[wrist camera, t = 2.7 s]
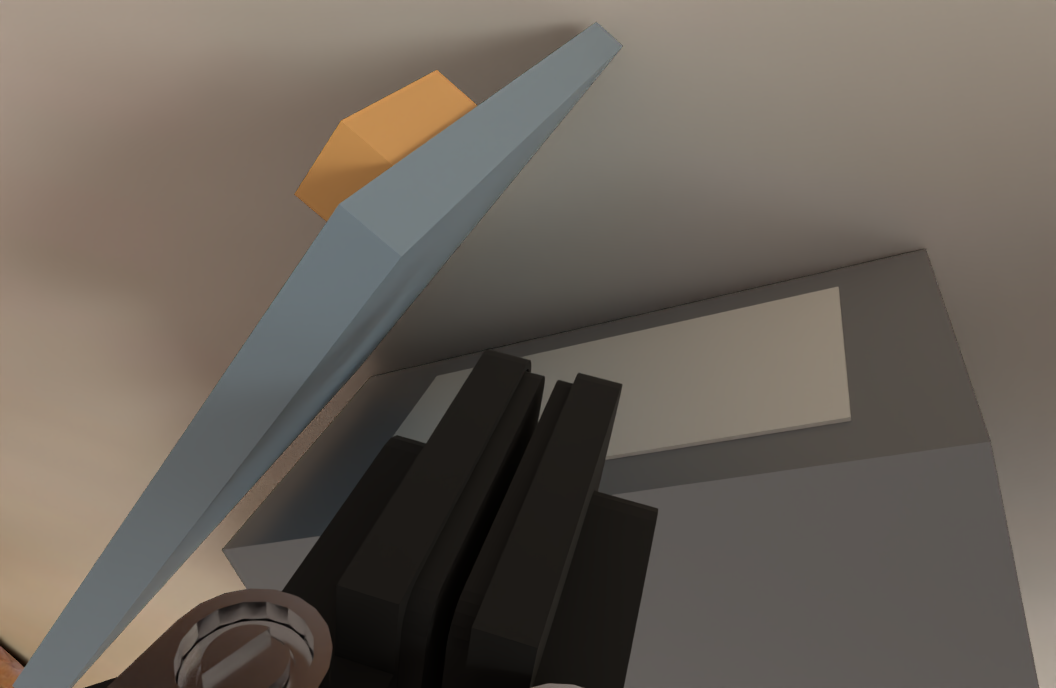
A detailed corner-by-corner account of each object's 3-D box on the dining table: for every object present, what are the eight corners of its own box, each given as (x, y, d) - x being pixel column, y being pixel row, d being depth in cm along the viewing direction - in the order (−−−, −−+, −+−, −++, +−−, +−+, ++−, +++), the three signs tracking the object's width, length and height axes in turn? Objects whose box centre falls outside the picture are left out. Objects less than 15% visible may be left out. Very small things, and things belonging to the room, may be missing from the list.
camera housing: (925, 245, 20) (989, 437, 13) (1004, 625, 24) (1084, 915, 17) (309, 388, 27) (146, 557, 20) (455, 658, 31) (361, 871, 25)
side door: (569, -3, 19) (275, 150, 8) (623, 46, 19) (401, 256, 8) (317, 334, 25) (-26, 659, 15) (359, 368, 25) (49, 712, 15)
